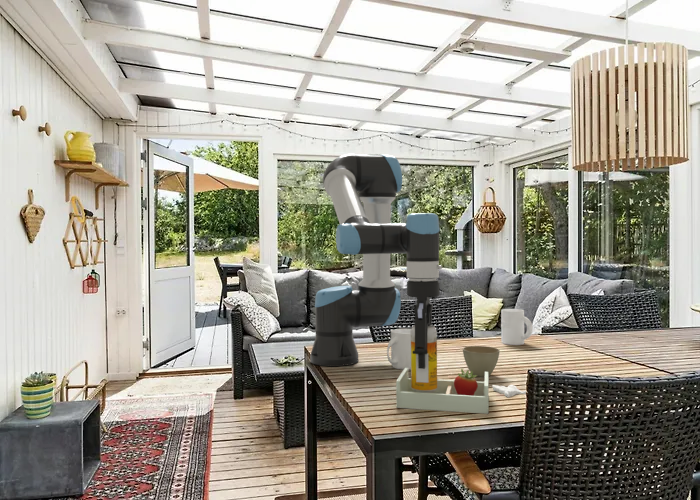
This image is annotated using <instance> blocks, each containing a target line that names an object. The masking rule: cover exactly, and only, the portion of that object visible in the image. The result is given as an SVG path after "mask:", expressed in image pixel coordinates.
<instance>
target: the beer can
mask: <svg viewBox="0 0 700 500" xmlns="http://www.w3.org/2000/svg"><path fill="white" fill-rule="evenodd" d="M410 329H411V331H410V333H411V369H410V378H411V388H412V389H413V391H415V392H420V393H433V392H435V390H436V389H437V380H438V339H437V338H438V334H437V332H438V331H437V329H436V326H434V325H433V324H432V325H430V326H428V332H427V351H428V380H429V382H428V383H425V382H416V354H413V351H414V349H415V324H414V325H412V327H411V328H410Z"/></svg>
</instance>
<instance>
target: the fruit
mask: <svg viewBox="0 0 700 500" xmlns="http://www.w3.org/2000/svg"><path fill="white" fill-rule="evenodd" d="M460 372H461V373H459V372H458V373H457V376H456V377H455V378H454V387H455V389H456V392H457V394H458V395H470V396H474V393H475V391H476V390H477V387H478V384H477V382H478V381H477V380H476V377H478V376H477V375H473V374H472V373H473V372H472V371H471V372H470V370H469V369H467V370H466V372H465V371H464V369H463V368H461V369H460Z"/></svg>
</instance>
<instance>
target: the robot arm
mask: <svg viewBox="0 0 700 500" xmlns="http://www.w3.org/2000/svg"><path fill="white" fill-rule="evenodd" d="M402 172H403V171H402V167H401V164H400V162H399V160H398V159H397V157H396V156H394V155H390V154H381V153H380V154H377V153H375V154H371V153H369V154H365V153H364V154H362V153H361V154H358V153H357V154H355V153H347V154H343V155H340V156H338V157H336V158H335V159H333V160H332V161H331V162H330V163H329V164H328V165H327V167H326V168H325V170H324V173H323V176H322V183H323V188H324V190H325V192H326V194H327V195H328V196H329V197H330V198H331V201H332V205H333V208H334V211H335V214H336V216H337V220H338V222H339V224H338V225H337V227H336V232H335V243H336V249H337V251H338V252H339V253H340V254H342V255H351V256H352V255H353V256H354V255H355V256H356V255H363V258H362V264H363V265H362V279H361V281H359V282H358V285H357V287H358V289H353V286H352V285H338V286H332V287H327V288H322V289H319V290H318V291H317V292H316V294H315V299H314V300H315V301H314V308H315V310H314V311H315V338H314V341H313V344H312V348H311V352H310V356H309V358H310V359H309V361H310V363H312V364H313V365H316V366H323V367H342V366H343V367H344V366H350V365H353V364H356V363H358V362H359V351H358V348H357V345H356V343H355V339H354V336H353V335H354V334H353V333H354V332H353V328H358V327H359V328H361V327H384V326H391V325H394V324H395V323H396V322H397V320H398V318H399V316H400V312H401V306H402V300H401V299H402V298H401V292H400V290H399V289H398V288H396V285H395V283H394V282H393V281H392V278H391V254H392V255H394V254H395V255H397V254H406V278H407V279H408V280H407V281H406V295H407V296H408V297H410V298H416V303H415V304H414V305H413V313H414V325H415V349H414V351H413V354H416V382H425V383H428V382H429V380H428V351H427V332H428V326H430V325H432V326H433V324H432V320H433V313H432V312H433V309H434V308H433V307H434V306H433V303H432V302H431V300H430V299H431V298H438V297H439V296H440V281H439V277H440V271H439V270H442V267H443V266H442V265H441V264H440V231H441V230H440V223H439V222H440V221H439V215H437V214H436V213H432V212H431V213H430V212H427V213H426V212H419V213H416V212H415V213H409V214H407V216H406V222H404V223H391V221H392V220H391V219H392V217H391V216H392V215H391V213H392V212H391V211H392V208H391V207H392V202H394V200H395V199H396V197H397V195H396V194H398V193H400V192H401V190H402V187H403V186H402V185H403V173H402ZM439 264H440V265H439Z"/></svg>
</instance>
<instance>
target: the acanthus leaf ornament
mask: <svg viewBox="0 0 700 500" xmlns="http://www.w3.org/2000/svg"><path fill="white" fill-rule="evenodd" d="M492 390H493V392H497V393H499V394H504V396H505V397H507V398H510V397H513V396H516V395H520V394H521V395H527V394H526V391H527V390H523V391H522V390H520V389H519V388H517V386H516V385H514V384H509V385H508V386H504V385H498V384H497V385H495V384H492Z"/></svg>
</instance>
